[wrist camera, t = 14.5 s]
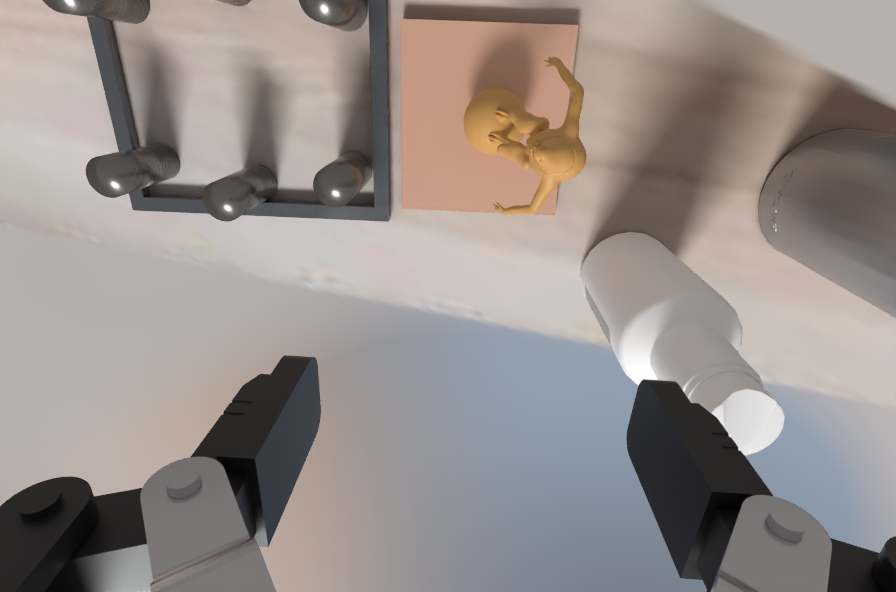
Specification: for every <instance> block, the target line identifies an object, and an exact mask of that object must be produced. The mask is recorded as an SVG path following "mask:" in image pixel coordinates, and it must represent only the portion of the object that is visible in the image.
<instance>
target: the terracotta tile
mask: <svg viewBox="0 0 896 592" xmlns="http://www.w3.org/2000/svg"><path fill="white" fill-rule="evenodd" d="M578 27H579V25H563V24H534V23H506V22H478V21H450V20H422V19H401V99H402V209H422V210H445V211H468V212H491V213H500V212H499V211H497V210H496V209H495V206H494V205H493V204H495V205H497V204H496V202H497V203H499V204H500V205H501V206H502V207H503V208H508V207H511V206H522V205H530V204H531V201H532V199H533V197H534V195H535V193H536V191H537V189H538V188H539V186H540V183H541V178H540V176H539V175H538V174H537V173H536V172H535V170H534V169H533V168H532V169H529V170H526V169H524V168H523V167H522V166H521V165H520V164H519V163H516V162H513V161H510V160H509V159H507V158H506V157H504V156H502V155H500V154H499V155H489V154H485V153H482V152H480V151H479V150H477V149H476V148H475V147H473V146H472V144H471V143H470V142H469V140H468V139H467V137H466V134H465V131H464V114H465V111H466V108H467V106H468V104H469V103H470V101H471V100H472V99H473V98H474V97H475V96H476V95H477V94H478V93H480V92H482V91H484V90H486V89H490V88H503V89H506V90H509V91H511V92H512V93H514V94H515V95H516V96H517V97H518V98H519V99H520V100H521V102H522V103H523V105H524V107H525V110H526V112H529V113H531V114H533V115H535V116H537V117H545V118H547V119H548V121H549V123H550V125H549V128H548V129H557V128H560V127H561V126H562V125H563V123H564V121H565V118H566V114H567V110H568V106H569V98H570V90H569V88H568V86H567V84H566V83H565V82H564V81H563V80H562V78H561V77H560V75H559V72H558V70H557V67H545V65H548V64H550V63H547V62H544V61H543V60H550V59H548V57H552V58H553V57H557V58H559V59H560V60H561V61H562V62H563V64H564V66H565V67H566V68H567V69H568V70H569V71H570V73H571V74H573V67H574V59H575V51H576V43H577V35H578ZM529 137H530V135H526V134H524V136H523V138H522V139H521V141H520V143H522V144H523V145H525V146H527V144H526V141H527V139H528V138H529ZM557 192H558V185H557V187H556V188H555V189H554V190H553V191H552V192H551V193H550V194H549V195H548V197H547V199H546V200H545V202H544V203H543V205H542V206H541V207H540V209H539V210H538V211H537V212H536V213H534V214H537V215H555V207H556V199H557ZM497 206H498V205H497Z"/></svg>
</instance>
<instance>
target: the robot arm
mask: <svg viewBox="0 0 896 592" xmlns="http://www.w3.org/2000/svg"><path fill="white" fill-rule="evenodd" d="M758 216H759V223H760V227H761V230H762V233H763V234H764V236H765V238H766V239H767V241H768V242H769V243H770V244H771V245H772V246H773V247H774V248H775V249H777V250H778V251H780V252H782V253H783V254H785V255H787V256H789V257H790V258H792V259H794V260H796V261H797V262H799V263H801V264H803V265H804V266H806V267H808V268H809V269H811V270H813V271H814V272H816V273H818V274H820V275H821V276H823V277H825V278H827V279H828V280H830V281H832V282H834V283H835V284H837V285H839V286H841V287H842V288H844V289H846V290H848V291H849V292H851V293H853V294H855V295H856V296H858V297H860V298H862V299H863V300H865V301H867V302H869V303H870V304H872V305H874V306H876V307H877V308H879V309H881V310H883V311H884V312H886V313H888V314H890V315H891V316H893V317H895V318H896V134H889V133H882V132H875V131H868V130H861V129H839V130H833V131H828V132H825V133H822V134H820V135H817V136H814V137H812V138H810V139H809V140H807V141H805V142H803V143H801V144H800V145H798V146H797V147H796V148H794V149H793V150H792V151H791V152H789V153H788V154H787V155H786V156H785V157H784V158H783V159H782V160H781V161H780V162H779V164H778V165H777V166H776V167H775V168H774V170H773V171H772V173H771V174H770V176H769V177H768V179H767V181H766V183H765V185H764V188H763V190H762V193H761V196H760V201H759V206H758ZM320 415H321V405H320V392H319V379H318V365H317V360H316V358H315V357H302V356H301V357H300V356H287V355H286V356H283V357H282V358H281V360H280V362H279V363H278V364H277V366H276V368H275V369H274V370H273V372H272V373H271V375H268V374H260V375H258V376H257V377H255V378H254V379H252V380H251V381H249V382H248V383H246V384H245V385H243V386H242V388H241V389H240V390H239V392H238V393H237V395H236V396H235V397H234V399H233V400H232V403H230V404H229V405H228V407H227V408H226V410H225V411H224V414H223V415H221V416H220V418H219V419H218V420H217V422H216V423H215V425H214V426H213V427H212V429H211V430H210V431H209V433H208V434H207V435H206V437H205V438H204V440H203V441H202V442H201V444H200V445H199V446H198V448H197V449H196V450H195V452H194V453H193V455H192V456H191V457H190V458H185V459H182V460H178V461H175V462H173V463H170V464H169V465H167V466H165V467H163V468H161V469H160V470H158V471H157V472H156V473H154V474H153V475H152V476H151V477H150V478H149V479H148V480H147V482H146V483H145V484H144V486H143V488H139V489H135V490H129V491H124V492H117V493H112V494H106V495H101V496H95V497H94V495H93V493H92V490H91V487H90V485H89V484H88V482H86V481H85V480H83V479H81V478H77V477H60V478H54V479H50V480H46V481H43V482H40V483H37V484H35V485H32V486H30V487H28V488H26V489H24V490H22V491H21V492H19V493H17V494H15V495H14V496H12V497H11V498H10V499H9V500H7V501H6V502H5V503H4V504H2V506H0V592H276V590H275V588H274V585H273V582H272V580H271V577H270V574H269V572H268V569H267V567H266V564H265V561H264V559H263V556H262V554H261V551H260V548H259V546H260V547H269V544H270V542H271V539H272V537H273V535H274V532H275V530H276V528H277V526H278V523H279V521H280V519H281V516H282V514H283V512H284V509H285V507H286V504H287V502H288V500H289V498H290V495H291V493H292V490H293V488H294V486H295V483H296V481H297V479H298V476H299V474H300V472H301V469H302V467H303V465H304V462H305V460H306V458H307V455H308V453H309V451H310V448H311V446H312V443H313V441H314V439H315V437H316V434H317V432H318V428H319V423H320ZM627 449H628V453H629V456H630V459H631V461H632V464H633V466H634V468H635V471H636V473H637V475H638V478H639V480H640V483H641V485H642V487H643V490H644V492H645V494H646V497H647V499H648V502H649V504H650V506H651V509H652V511H653V514H654V516H655V518H656V521H657V523H658V526H659V528H660V530H661V533H662V535H663V538H664V540H665V542H666V544H667V547H668V550H669V552H670V554H671V557H672V559H673V562H674V564H675V566H676V569H677V571H678V573H679V576H680V578H685V579H700V580H703V582H704V584H705V586H706V588H707V592H896V537H893V538H890V539H889V540H888V541H887V542H886V544H885V545H884V547H883V548H882V550H881V552H880V553H877V552H873V551H870V550H867V549H863V548H860V547H857V546H854V545H850V544H847V543H844V542H841V541H837V540H834V539H831V538H830V537H829V535H828V533H827V531H826V530H825V529H824V527H823V526H822V525H821V524H820V523H819V522H818V521H817V520H816V519H815V518H814V517H813V516H811V515H810V514H809V513H808V512H806V511H805V510H803V509H802V508H800V507H798V506H796V505H795V504H793V503H791V502H788V501H786V500H783V499H781V498H777V497H774V496H773V495H772V493H771V492H770V491H769V489H768V488H767V486H766V485H765V484H764V482H763V481H762V479H761V478H760V477H759V475H758V474H757V472H756V471H755V470H754V468H753V467H752V466H751V464H750V463H749V461H748V460H747V459H746V457H745V456H744V454H743V453H742V452H741V451H739V450H738V446H737V445H736V443H735V442H734V441H733V439H732V438H731V437H729V434H728V432H727V431H726V429H725V428H724V427H723V425H722V424H721V423H720V421H719V420H718V418H717V417H715V416H714V415H713V414H712V413H710V412H709V411H708V410H706V409H705V408H704V407H702V406H701V405H700V404H699V403H691V402H690V400H689V399H688V397H687V396H686V394H685V393H684V392H683V390H682V389H681V387H680V386H679V384H678V383H677V382H675V381H663V380H648V379H643V380H642V381H641V382H640V384H639V387H638V390H637V394H636V398H635V402H634V406H633V410H632V414H631V418H630V422H629V426H628V430H627Z"/></svg>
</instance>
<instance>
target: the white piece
mask: <svg viewBox="0 0 896 592" xmlns="http://www.w3.org/2000/svg"><path fill="white" fill-rule="evenodd" d="M580 283H581V289H582V292H583V294H584V296H585V298H586V300H587V302H588V304H589V305H590V307H591V309H592V311H593V313H594V315H595V317H596V319H597V321H598V323H599V325H600V326H601V328H602V330H603V332H604V334H605V336H606V338H607V340H608V342H609V344H610V345H611V347H612V349H613V351H614V353H615V355H616V357H617V359H618V361H619V363H620V365H621V366H622V368H623V370H624V372H625V374H626V375H627V376H629V377H630V378H631V379H632V380H633V381H634V382H635V383H636V384H637V385H638V386H639V384H640V382H641V381H642V380H643V379H648V380H663V381H675V382H677V383H678V384H679V386H680V387H681V389H682V390H683V392H684V393H685V394H686V396H687V397H688V399H689V400H690V402H691V403H699V404H700V405H701V406H702V407H704V408H705V409H706V410H708V411H709V412H710V413H712V414H713V415H714V416H715V417H717V418H718V420H719V421H720V423H721V424H722V425H723V427H724V428H725V429H726V431H727V432H728V434H729V437H731V438H732V439H733V441H734V442H735V443H736V445H737V446H738V450H739V451H741V452H742V453H743V454H744V455H749V454H752V453H755V452H758V451H760V450H762V449H764V448H765V447H767V446H768V445H770V444H771V443H772V442H773V441H774V440H775V439H776V438H777V437H778V436H779V434H780V432H781V430H782V428H783V426H784V413H783V410H782V407H781V406H780V405H779V404H778V403H777V402H776V400H775V399H774V398H773V397H772V396H771V395H770V394H769V393H768V392H767V391H766V390H765V389H764V387H763V385H762V382H761V379H760V376H759V375H758V374H757V373H756V372H755V371H754V370H753V369H752V368H751V367H750V366H749V365H748V364H747V362H746V361H745V360H744V359H743V358H742V357H741V356H740V355H739V353H738V352H739V349H740V347H741V342H742V327H741V324H740V321H739V318H738V315H737V313H736V311H735V310H734V309H733V307H732V306H731V305H730V304H729V303H728V302H727V301H726V300H725V299H724V298H723V297H722V296H721V295H720V294H718V293H717V292H716V291H715V290H714V289H713V288H712V287H710V286H709V285H708V284H707V283H706V282H705V281H704V280H702V279H701V278H700V277H699V276H698V275H697V274H696V273H694V272H693V271H692V270H691V269H690V268H689V267H688V266H686V265H685V264H684V263H683V262H682V261H681V260H680V259H679V258H677V257H676V256H675V255H674V254H673V253H672V252H671V251H669V250H668V249H667V248H666V247H665V246H664V245H663V244H661V243H660V242H659V241H658V240H657V239H655V238H653V237H651V236H649V235H646V234H644V233H636V232H626V233H620V234H615V235H613V236H611V237H609V238H607V239H605V240H603V241H601V242H600V243H599V244H598V245H597V246H595V247H594V248H593V249H592V250H591V251H590V253H589V254H588V256H587V257H586V259H585V261H584V262H583V265H582V269H581V273H580Z"/></svg>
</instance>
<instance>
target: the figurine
mask: <svg viewBox="0 0 896 592" xmlns="http://www.w3.org/2000/svg"><path fill="white" fill-rule="evenodd" d="M548 59H550V60H543V61H544V62H547V63H550V64H548V65H545V67H557V70H558V72H559V75H560V77H561V78H562V80H563V81H564V82H565V83H566V84H567V86H568V88H569V90H570V91H571V92H572V97H571V100H570V103H569V106H568V110H567V114H566V118H565V121H564V123H563V125H562V126H561V127H560V128H557V129H548V128H549V125H550V123H549V121H548V119H547V118H545V117H537V116H535V115H533V114H531V113H529V112H526V110H525V107H524V105H523V103H522V102H521V100H520V99H519V98H518V97H517V96H516V95H515V94H514V93H512V92H511V91H509V90H506V89H503V88H490V89H486V90H484V91H482V92H480V93H478V94H477V95H476V96H475V97H474V98H473V99H472V100H471V101H470V103H469V104H468V106H467V108H466V111H465V114H464V131H465V134H466V137H467V139H468V140H469V142H470V143H471V144H472V146H473V147H475V148H476V149H477V150H479V151H480V152H482V153H485V154H489V155H499V154H500V155H502V156H504V157H506V158H507V159H509V160H510V161H513V162H516V163H519V164H520V165H521V166H522V167H523V168H524V169H526V170H529V169H532V168H533V169H534V170H535V172H536V173H537V174H538V175H539V176H540V178H541V183H540V186H539V188H538V189H537V191H536V193H535V195H534V197H533V199H532V201H531V204H530V205H522V206H511V207H508V208H503V207H502V206H501V205H500V204H499V203H497V202H496V204H497V205H498V206H497V205H495V204H493V205H494V206H495V209H496V210H497V211H499V212H500V213H501V214H505V215H507V214H511V215H515V214H534V213H536V212H537V211H538V210H539V209H540V207H541V206H542V205H543V203H544V202H545V200H546V199H547V197H548V195H549V194H550V193H551V192H552V191H553V190H554V189H555V188H556V187H557V185H558V184H559V183H560V182H562V181H565V180H569V179H572V178H574V177H575V176H577V175H578V174H579V173H580V172H581V171H582V170H583V168H584V166H585V163H586V151H585V148H584V146H583V144H582V143H581V141H580V139H579V117H580V113H581V108H582V102H583V96H584V90H583V87H582V86H581V84H580V83H579V82H577V81H576V80H575V78H574V77H573V75H572V74H571V73H570V71H569V70H568V69H567V68H566V67H565V66H564V64H563V62H562V61H561V60H560V59H559V58H557V57H553V58H552V57H548ZM524 134H526V135H530V137H529V138H528V139H527V141H526V144H527V146H525V145H523V144H522V143H520V141H521V139H522V138H523V136H524Z"/></svg>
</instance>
